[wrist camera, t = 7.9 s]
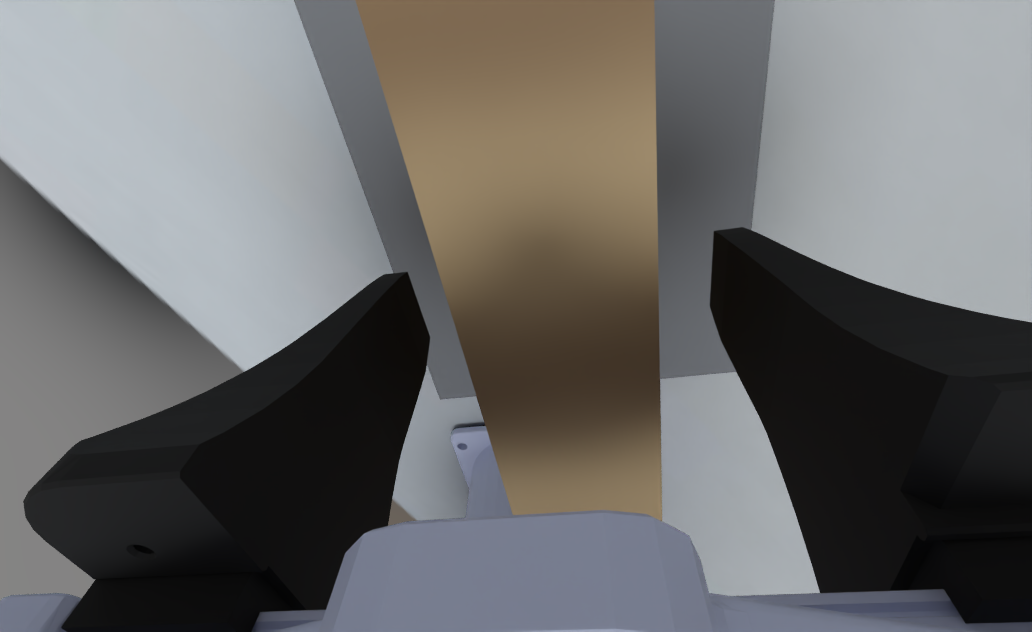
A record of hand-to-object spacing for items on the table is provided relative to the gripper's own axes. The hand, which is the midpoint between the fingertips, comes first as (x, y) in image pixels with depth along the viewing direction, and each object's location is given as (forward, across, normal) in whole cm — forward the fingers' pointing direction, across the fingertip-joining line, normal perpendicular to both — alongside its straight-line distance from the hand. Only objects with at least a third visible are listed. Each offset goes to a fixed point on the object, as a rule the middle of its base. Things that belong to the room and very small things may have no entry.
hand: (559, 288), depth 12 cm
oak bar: (+3, 0, 0) cm, 3 cm away
